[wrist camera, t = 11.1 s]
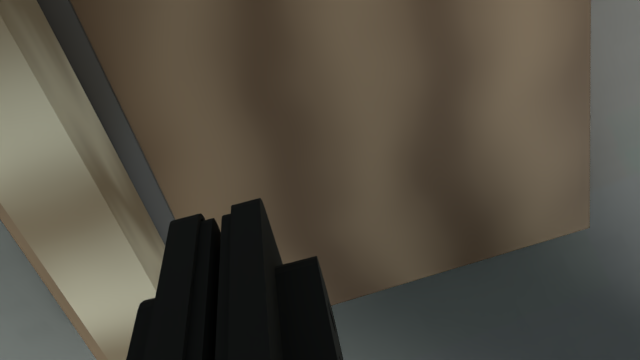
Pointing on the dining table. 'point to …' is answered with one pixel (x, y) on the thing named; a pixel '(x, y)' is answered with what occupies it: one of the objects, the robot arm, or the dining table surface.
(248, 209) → the robot arm
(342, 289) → the stool seat
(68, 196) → the folding leg
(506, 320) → the dining table surface
